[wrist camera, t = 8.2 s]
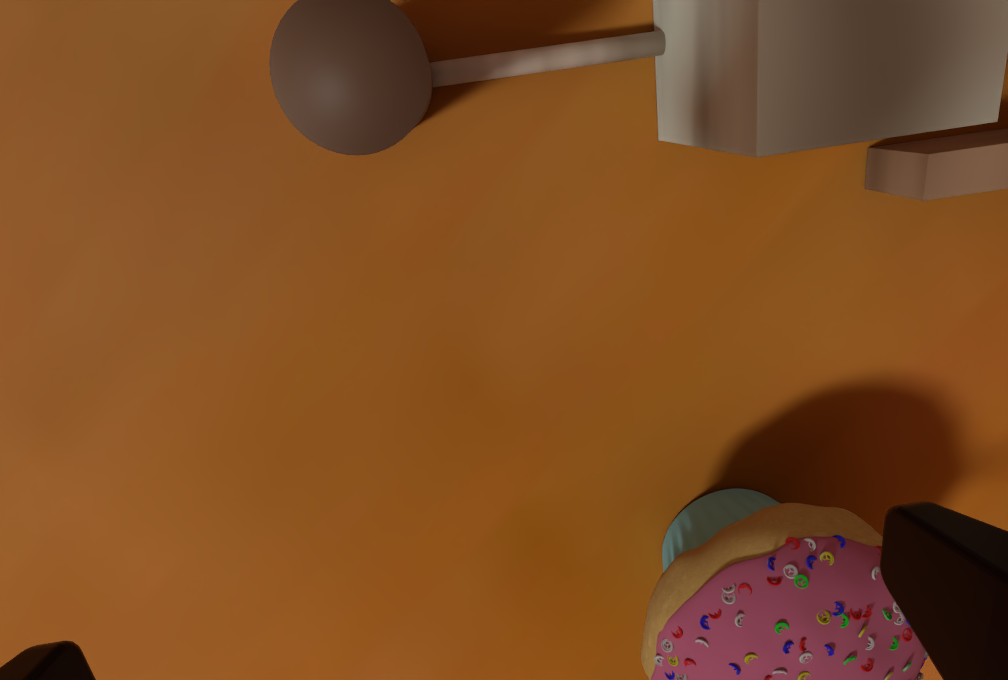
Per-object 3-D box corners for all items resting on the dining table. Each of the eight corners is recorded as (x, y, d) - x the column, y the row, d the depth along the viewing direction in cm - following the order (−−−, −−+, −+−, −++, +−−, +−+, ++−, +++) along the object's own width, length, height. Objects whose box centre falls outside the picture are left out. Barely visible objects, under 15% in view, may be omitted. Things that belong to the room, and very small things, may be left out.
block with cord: (837, -87, 16) (1041, -183, 11) (827, 115, 18) (997, 121, 13) (305, -16, 16) (232, -80, 10) (348, 185, 18) (306, 223, 12)
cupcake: (841, 592, 25) (1168, 993, 14) (635, 655, 25) (791, 1102, 14) (817, 408, 22) (1214, 731, 11) (582, 482, 22) (728, 877, 11)
